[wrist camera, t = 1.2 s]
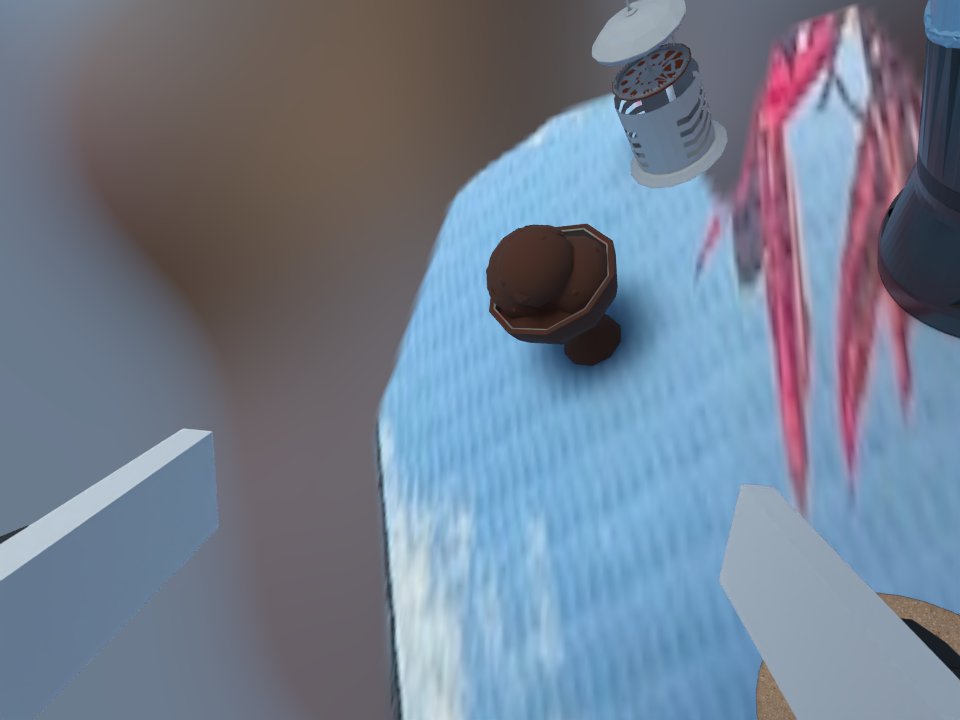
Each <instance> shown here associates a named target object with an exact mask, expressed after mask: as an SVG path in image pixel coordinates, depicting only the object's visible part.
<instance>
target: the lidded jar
mask: <svg viewBox="0 0 960 720" xmlns="http://www.w3.org/2000/svg"><path fill="white" fill-rule="evenodd" d="M876 594H877V595H878V596H879V597H880V598H881V599H882V600H883V601H884V602H885V603H886V604H887V605H888V606H889V607H890V608H891V609H892V610H893V611H894V612H895V613H896V614H897V615H898V617H899V618H905V619H912V620H914V621H915V622H917V623H918V624H920V625H921V626H923V627H924V628H926V629H927V630H929V631H930V632H931V633H933V634H934V635H936V636H937V637H939V638H940V639H942V640H943V641H945V642H946V643H947V644H948V645H949V646H950V647H951V648H952V649H953V650H954V651H955V652H956V653H957V654H958V655H959V656H960V615H958V614H956V613H954V612H952V611H949V610H946V609H944V608H941V607H938V606H936V605H933V604H930V603H928V602H924V601H920V600H916V599H912V598H908V597H904V596H900V595H892V594H883V593H876ZM756 706H757V719H758V720H797V719H796V717H795V715H794V713H793V712H792V710H791V708H790V706H789V704H788V703H787V701H786V699H785V697H784V696H783V694H782V692H781V690H780V689H779V687H778V685H777V683H776V681H775V680H774V678H773V676H772V674H771V673H770V671H769V669H768V667H767V665H766V664H765V662H764V660H762V663H761V666H760V670H759V673H758V681H757V689H756Z"/></svg>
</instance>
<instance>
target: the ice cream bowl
mask: <svg viewBox="0 0 960 720" xmlns="http://www.w3.org/2000/svg"><path fill="white" fill-rule="evenodd" d="M486 273H487V289H488V291H489V295H490V297H491V299H490V308H489V312H490V313H491V314H492V315H493V316H494V318H495V319H496V320H497V321H498V322H499V323H500V324H501V326H502V327H503V328H504V329H505V330H506V331H507V332H508V333H509V334H510V335H512V336H513V337H515V338H516V339H518V340H520V341H525V342H529V343H546V344H563V343H564V351H565V354H566V355H567V356H568V357H569V358H570V359H571V360H572V361H573V362H574V363H575V364H579V365H592V366H593V365H595V364H597V363H599V362H601V361H603V360H605V359H607V358H609V357H610V356H611V355H612V353H613V352H614V350H615V349H616V347H617V346H618V344H619V343H620V342H621V336H620V325H619V324H618V323H616V322H615V321H614V320H613V319H612V318H610V317H609V316H608V315H606V314H604V313H605V312H606V310H607V309H608V307H609V306H610V304H611V303H612V301H613V300H614V298H615V297H616V293H617V269H616V254H615V249H614V244H613V241H612V240H611V239H609V238H608V237H606V236H605V235H603V234H602V233H600V232H599V231H597V230H596V229H594V228H593V227H591V226H590V225H588V224H580V225H571V226H562V227H553V226H550V225H529V226H525V227H524V228H518V229H516V230H515V231H513V232H512V233H510V234H509V235H507V236H506V237H504V238H503V239H502V240H501V242H500V243H499V244H498V246H497V247H496V248H495V250H494V251H493V253H492V255H491V257H490V260H489V266H488V268H487V270H486Z"/></svg>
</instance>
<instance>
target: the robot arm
mask: <svg viewBox="0 0 960 720" xmlns="http://www.w3.org/2000/svg"><path fill="white" fill-rule="evenodd" d="M924 24H925V32H926V35H927V45H926V56H925V69H924V81H923V93H922V106H921V118H920V131H919V143H918V154H917V162H916V164H915V166H914V167H913V169H912V171H911V173H910V175H909V177H908V179H907V181H906V184H905V187H904V189H903V190H902V191H901V192H900V193H899V194H898V195H897V197H896V198H895V199H894V201H893V202H892V203H891V205H890V207H889V209H888V210H887V212H886V214H885V216H884V218H883V221H882V224H881V227H880V231H879V237H878V269H879V273H880V277H881V279H882V282H883V284H884V286H885V287H886V289H887V291H888V292H889V294H890V295H891V296H892V297H893V298H894V300H895V301H896V302H897V303H898V304H899V305H900V306H902V307H903V308H904V309H905V310H906V311H908V312H909V313H910V314H912V315H913V316H915V317H916V318H918V319H919V320H921V321H923V322H925V323H927V324H928V325H930V326H933V327H935V328H937V329H939V330H942V331H944V332H947V333H949V334H952V335H955V336H958V337H960V0H929V1H928V3H927V6H926V9H925V13H924ZM218 527H219V525H218V509H217V493H216V478H215V462H214V447H213V432H212V431H201V430H192V429H182V430H180V431H179V432H177V433H175V434H174V435H172V436H171V437H169V438H167V439H166V440H164V441H163V442H161V443H159V444H158V445H156V446H155V447H153V448H152V449H150V450H149V451H147V452H145V453H144V454H142V455H141V456H139V457H137V458H136V459H134V460H133V461H131V462H130V463H128V464H126V465H125V466H123V467H122V468H120V469H118V470H117V471H115V472H114V473H112V474H110V475H109V476H108V477H106V478H104V479H103V480H101V481H100V482H98V483H96V484H95V485H93V486H92V487H90V488H89V489H87V490H85V491H84V492H82V493H81V494H79V495H77V496H76V497H74V498H73V499H71V500H70V501H68V502H66V503H65V504H63V505H62V506H60V507H58V508H57V509H55V510H54V511H52V512H50V513H49V514H47V515H46V516H44V517H43V518H41V519H39V520H38V521H36V522H35V523H33V524H31V525H30V526H25V527H23V528H20V529H18V530H16V531H13V532H11V533H8V534H6V535H3V536H1V537H0V720H34V719H35V718H36V717H37V716H38V715H39V714H40V713H41V712H42V711H43V710H44V709H45V708H46V707H47V706H48V705H49V704H50V703H51V702H52V701H53V699H54V698H55V697H56V696H57V695H58V694H59V693H60V692H61V691H62V690H63V689H64V688H65V687H66V686H67V685H68V684H69V683H70V682H71V681H72V680H73V679H74V678H75V677H76V676H77V674H78V673H79V672H80V671H81V670H82V669H83V668H84V667H85V666H86V665H87V664H88V663H89V662H90V661H91V660H92V659H93V658H94V657H95V656H96V655H97V653H99V652H100V651H101V649H102V648H103V647H104V646H105V645H106V644H107V643H108V642H109V641H110V640H111V639H112V638H113V637H114V636H115V635H116V634H117V633H118V632H119V631H120V630H121V629H122V628H123V627H124V626H125V624H126V623H127V622H128V621H129V620H130V619H131V618H132V617H133V616H134V615H135V614H136V613H137V612H138V611H139V610H140V609H141V608H142V607H143V606H144V605H145V604H146V603H147V601H148V600H149V599H150V598H151V597H152V596H153V595H154V594H155V593H156V592H157V591H158V590H159V589H160V588H161V587H162V586H163V585H164V584H165V583H166V581H167V580H169V579H170V577H171V576H172V575H173V574H174V573H175V572H176V571H177V570H178V569H179V568H180V567H181V566H182V565H183V564H184V563H185V562H186V561H187V560H188V559H189V558H190V557H191V556H192V555H193V554H194V552H195V551H196V550H197V549H198V548H199V547H200V546H201V545H202V544H203V543H204V542H205V541H206V540H207V539H208V538H209V537H210V536H211V535H212V534H213V532H215V531H216V530H217V529H218ZM719 582H720V584H721V586H722V587H723V589H724V591H725V593H726V595H727V596H728V598H729V600H730V602H731V603H732V605H733V607H734V609H735V611H736V612H737V614H738V616H739V618H740V619H741V621H742V623H743V625H744V626H745V628H746V630H747V632H748V634H749V635H750V637H751V639H752V641H753V642H754V644H755V646H756V648H757V650H758V651H759V653H760V655H761V657H762V658H763V660H764V662H765V664H766V665H767V667H768V669H769V671H770V673H771V674H772V676H773V678H774V680H775V681H776V683H777V685H778V687H779V689H780V690H781V692H782V694H783V696H784V697H785V699H786V701H787V703H788V704H789V706H790V708H791V710H792V712H793V713H794V715H795V717H796V719H797V720H960V656H959V655H958V654H957V653H956V652H955V651H954V650H953V649H952V648H951V647H950V646H949V645H948V644H947V643H946V642H945V641H943V640H942V639H940V638H939V637H937V636H936V635H934V634H933V633H931V632H930V631H929V630H927V629H926V628H924V627H923V626H921V625H920V624H918V623H917V622H915V621H914V620H912V619H905V618H899V617H898V615H897V614H896V613H895V612H894V611H893V610H892V609H891V608H890V607H889V606H888V605H887V604H886V603H885V602H884V601H883V600H882V599H881V598H880V597H879V596H878V595H877V594H876V593H875V592H874V591H873V590H872V589H871V588H870V586H869V585H868V584H867V583H866V582H865V581H864V580H863V579H862V578H861V577H860V576H859V575H858V574H857V573H856V572H855V571H854V570H853V569H852V568H851V567H850V566H849V565H848V564H847V563H846V562H845V561H844V560H843V559H842V557H841V556H840V555H839V554H838V553H837V552H836V551H835V550H834V549H833V548H832V547H831V546H830V545H829V544H828V543H827V542H826V541H825V540H824V539H823V538H822V537H821V536H820V535H819V534H818V533H817V532H816V531H815V530H814V528H813V527H812V526H811V525H810V524H809V523H808V522H807V521H806V520H805V519H804V518H803V517H802V516H801V515H800V514H799V513H798V512H797V511H796V510H795V509H794V508H793V507H792V506H791V505H790V504H789V503H788V502H787V500H786V499H785V498H784V497H783V496H782V495H781V494H780V493H779V492H778V491H777V490H776V489H775V488H774V487H768V486H758V485H748V484H741V487H740V491H739V495H738V500H737V504H736V508H735V513H734V517H733V521H732V526H731V530H730V534H729V538H728V543H727V547H726V551H725V556H724V560H723V564H722V568H721V573H720V577H719Z"/></svg>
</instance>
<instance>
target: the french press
mask: <svg viewBox="0 0 960 720" xmlns="http://www.w3.org/2000/svg"><path fill="white" fill-rule="evenodd" d="M625 1H626V5H627V7H626V8H624V9H623V10H621V11H620V12H618V13H617V14H616V15H615V16H614V17H612V18H611V19H610V20H609V21H608V22H607V24H606V25H605V27H604V28H603V30H602V31H601V32H600V34H599V36H598V37H597V39H596V41H595V43H594V44H593V46H592V56H593V57H594V58H595V59H596V60H597V61H598V62H599V63H601V64H603V65H610V66H616V65H621V64H626V63H627V65H625V67H623V68H622V70H621V71H619V73H618V74H617V76H616V78H615V80H614V82H613V93H614V94H615V95H616V96H615V98H614V101H615V108H616V111H617V113H618V116H619V118H620V121H621V123H622V125H623V127H624V130H625V129H626V130H625V132H626V135H627V137H628V140H629V142H630V145H631V148H633V149H632V151H633V150H634V151H633V153H634V155H635V156H634V158H633V160H632V162H631V175H632V176H633V178H634V179H635V180H636V181H637V182H638V184H641V185H644V186H648V187H651V188H659V187H671V186H674V185H677V184H680V183H683V182H686V181H689V180H691V179H693V178H694V177H696V176H698V175H699V174H701V173H702V172H704V171H706V170H707V169H709V168H710V167H711V165H712V164H713V163H714V162H715V161H716V160H717V159H718V158H719V157H720V156H721V155H722V153H723V151H724V148H725V146H726V143H727V141H728V139H727V134H726V129H725V127H723V126H722V125H721V124H720V123H718V122H717V121H716V120H712V117H711V114H710V109H709V105H708V103H707V97H706V93H705V91H704V87H703V90H702V89H701V85H702V86H703V82H702V79H701V73H700V70H699V66H698V64H697V63H696V61H695V60H694V59H692V58H691V53H690V49H689V48H688V47H686V46H685V45H684V44H681V43H679V44H676V43H675V38H674V35H673V34H674V33H675V32H676V31H677V30H678V29H679V27H680V25H681V23H682V21H683V19H684V17H685V13H686V8H685V1H684V0H640V1H636V2H634V3H632V4H630V5H629V2H628V0H625ZM670 37H672V41H673V43H670V44H669V43H668V44H666V45H662V44H664V43H665V42H666V41H667V40H668V39H669V38H670ZM692 71H697V72H698V74H697V75H696V77H693V74H692ZM671 85H673V88H674V91H675V95H676V99H675V100H673V101H671V102H669V99H668V96H667V93H666V90H665V89H666V88H668V87H669V86H671ZM701 94H702V96H701V99H699V95H701ZM704 97H705V98H706V101H705V100H704ZM621 100H626V101H627V102H626V103H625V104H624V105H623V108H622V111H621V113H620V112H619V111H618V110H619V107H620V103H621ZM640 100H641V102H642V105H641V106H638V107H636V108H635V109H634V110H632V111H631V112H630V113H629V114H625V112H626V109H627V108H629V107H630V106H631V105H632V104H633V103H635V102H637V101H640ZM703 105H705V108H704V110H702V107H703ZM707 109H709V112H708V111H707ZM642 111H645V113H643V114H638V115H636V114H637V113H640V112H642ZM682 118H683V119H682ZM627 132H629V135H628V134H627ZM633 132H636V134H635V137H634V138H632V134H633ZM631 142H632V144H631Z"/></svg>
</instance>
